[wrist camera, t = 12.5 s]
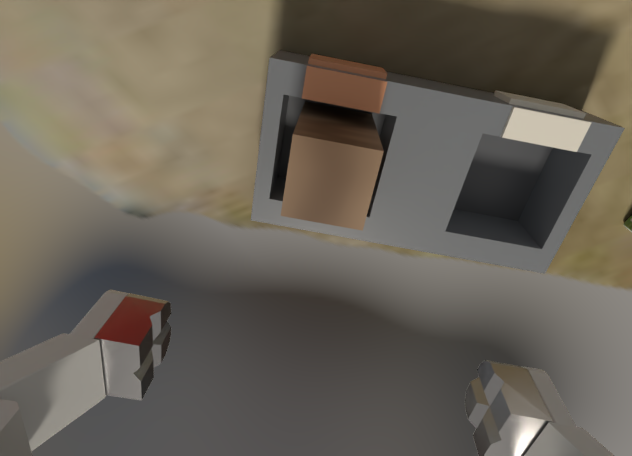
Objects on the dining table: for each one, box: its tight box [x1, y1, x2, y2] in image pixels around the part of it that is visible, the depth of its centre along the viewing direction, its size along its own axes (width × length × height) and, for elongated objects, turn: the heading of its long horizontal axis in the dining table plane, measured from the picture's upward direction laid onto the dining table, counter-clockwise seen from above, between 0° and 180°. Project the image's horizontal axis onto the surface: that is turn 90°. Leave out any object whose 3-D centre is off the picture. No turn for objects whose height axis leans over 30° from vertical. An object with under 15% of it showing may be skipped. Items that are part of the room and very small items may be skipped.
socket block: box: [251, 50, 625, 274], centre depth 26 cm, size 20×10×5 cm, turn 80°
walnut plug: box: [281, 101, 384, 231], centre depth 24 cm, size 4×4×8 cm
